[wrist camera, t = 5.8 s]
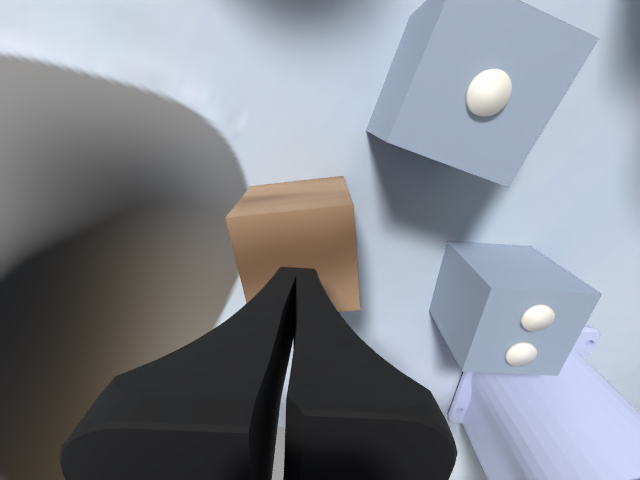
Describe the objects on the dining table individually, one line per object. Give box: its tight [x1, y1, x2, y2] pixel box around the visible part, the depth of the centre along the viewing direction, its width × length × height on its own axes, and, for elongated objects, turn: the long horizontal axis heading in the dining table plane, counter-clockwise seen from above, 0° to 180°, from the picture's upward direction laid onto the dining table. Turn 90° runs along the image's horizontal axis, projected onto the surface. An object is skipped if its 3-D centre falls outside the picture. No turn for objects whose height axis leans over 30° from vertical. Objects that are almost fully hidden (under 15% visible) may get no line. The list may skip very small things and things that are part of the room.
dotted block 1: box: [366, 0, 599, 187], centre depth 12 cm, size 5×5×5 cm
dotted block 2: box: [429, 241, 602, 376], centre depth 17 cm, size 5×5×5 cm
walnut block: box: [225, 176, 360, 312], centre depth 15 cm, size 5×5×5 cm
